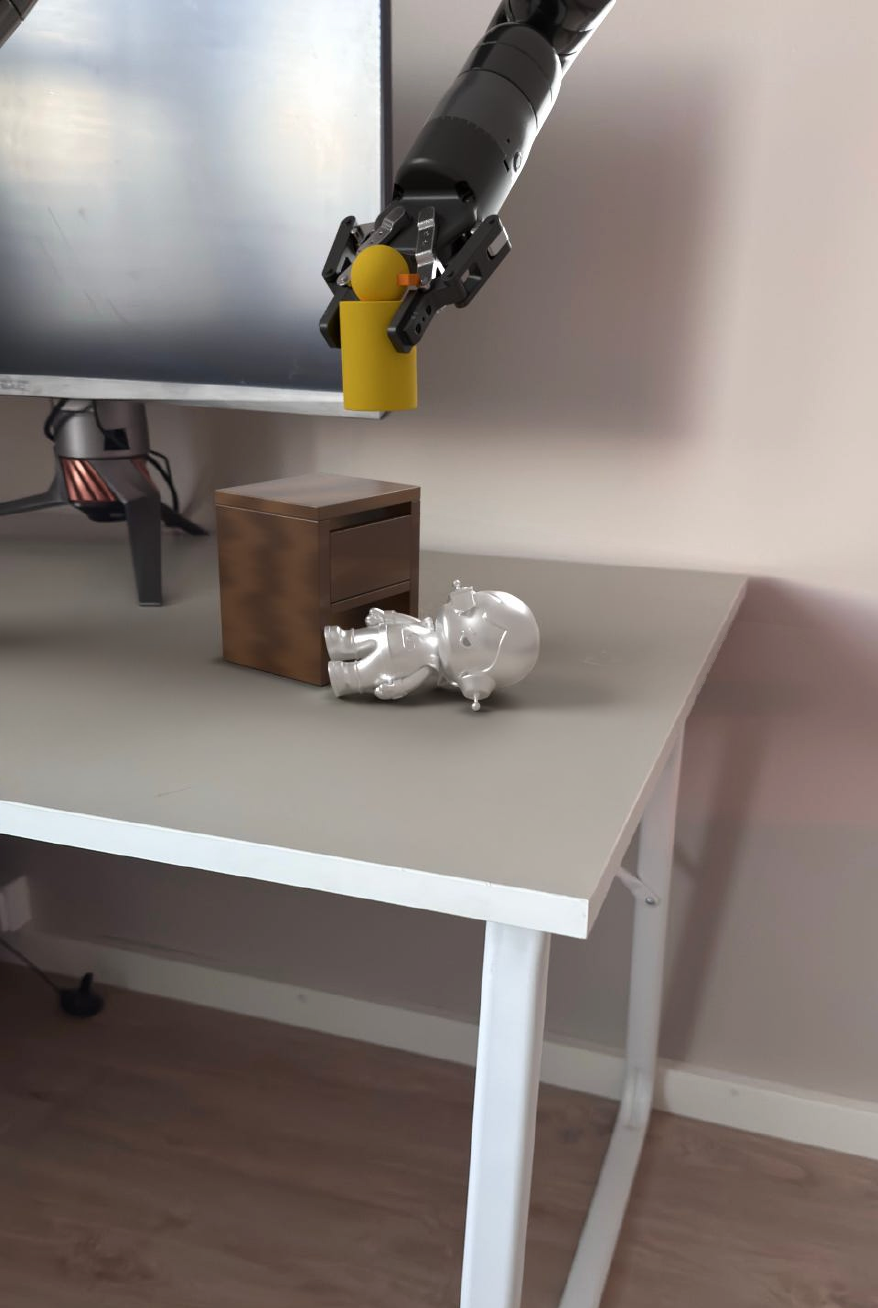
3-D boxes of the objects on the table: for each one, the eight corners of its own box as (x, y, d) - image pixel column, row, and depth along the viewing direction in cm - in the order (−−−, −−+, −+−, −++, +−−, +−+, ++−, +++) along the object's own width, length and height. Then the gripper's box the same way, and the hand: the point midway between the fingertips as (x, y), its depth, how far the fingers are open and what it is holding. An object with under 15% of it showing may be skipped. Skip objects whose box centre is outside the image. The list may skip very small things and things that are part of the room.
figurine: (315, 577, 83) (525, 540, 82) (334, 628, 89) (529, 595, 89) (329, 711, 79) (550, 674, 78) (348, 753, 85) (552, 720, 85)
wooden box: (222, 660, 91) (214, 489, 86) (323, 627, 100) (321, 472, 95) (321, 686, 86) (318, 506, 81) (418, 649, 95) (421, 486, 90)
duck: (328, 409, 82) (321, 245, 78) (374, 403, 86) (370, 246, 82) (393, 413, 79) (389, 242, 75) (438, 407, 83) (437, 244, 79)
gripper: (365, 118, 85) (256, 297, 81) (535, 107, 77) (424, 304, 73) (408, 204, 91) (309, 375, 87) (569, 201, 83) (469, 388, 79)
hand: (362, 341), depth 80 cm, fingers closed on duck, 5 cm apart
